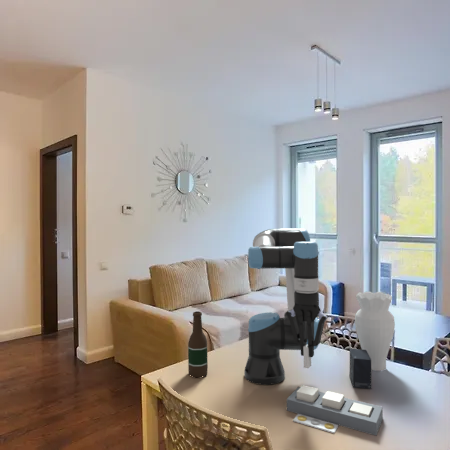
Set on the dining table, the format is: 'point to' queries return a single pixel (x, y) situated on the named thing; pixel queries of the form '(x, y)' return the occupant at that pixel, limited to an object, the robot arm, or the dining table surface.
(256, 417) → the dining table surface
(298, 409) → the board
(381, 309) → the vase
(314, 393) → the button
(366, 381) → the small box
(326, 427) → the card
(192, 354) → the beer bottle
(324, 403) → the button
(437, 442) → the dining table surface
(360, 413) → the button
